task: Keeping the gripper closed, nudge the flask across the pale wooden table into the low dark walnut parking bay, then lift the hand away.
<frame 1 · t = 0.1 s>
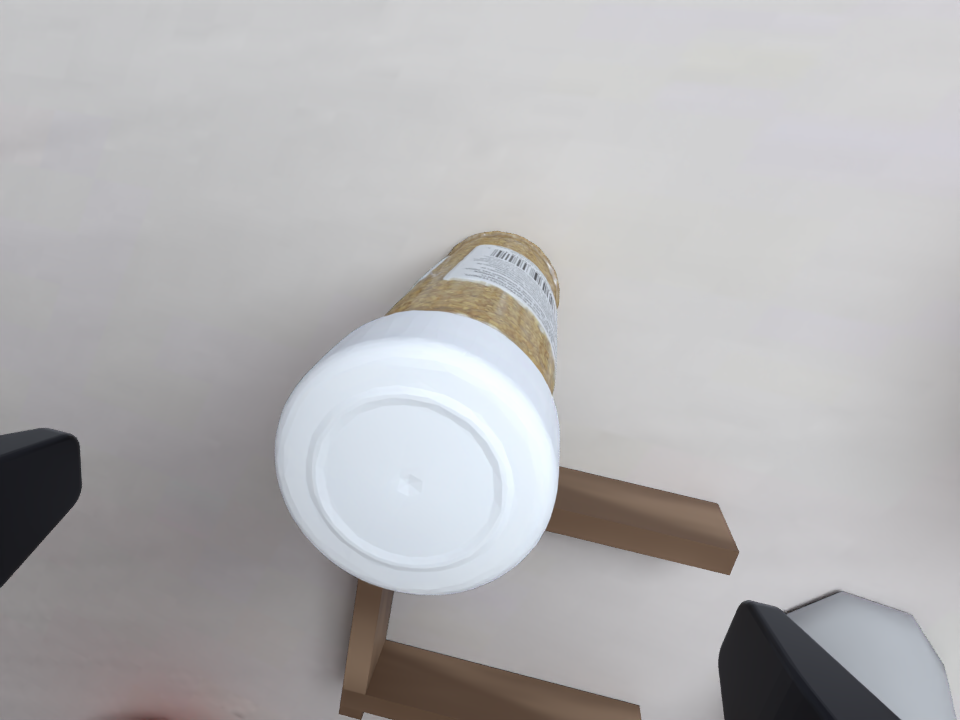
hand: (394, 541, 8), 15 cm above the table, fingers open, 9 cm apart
flask: (835, 657, 25), on the table
sprinkles bottle: (499, 291, 22), on the table
bay: (534, 587, 25), on the table
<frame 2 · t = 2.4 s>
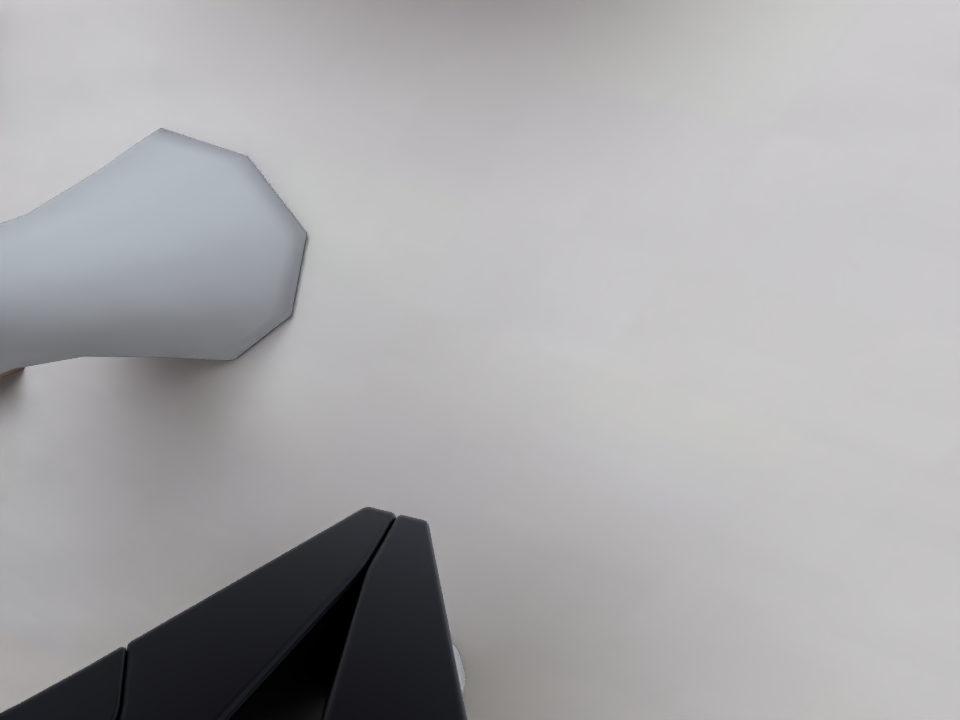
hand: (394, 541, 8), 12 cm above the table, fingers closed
flask: (207, 248, 20), on the table
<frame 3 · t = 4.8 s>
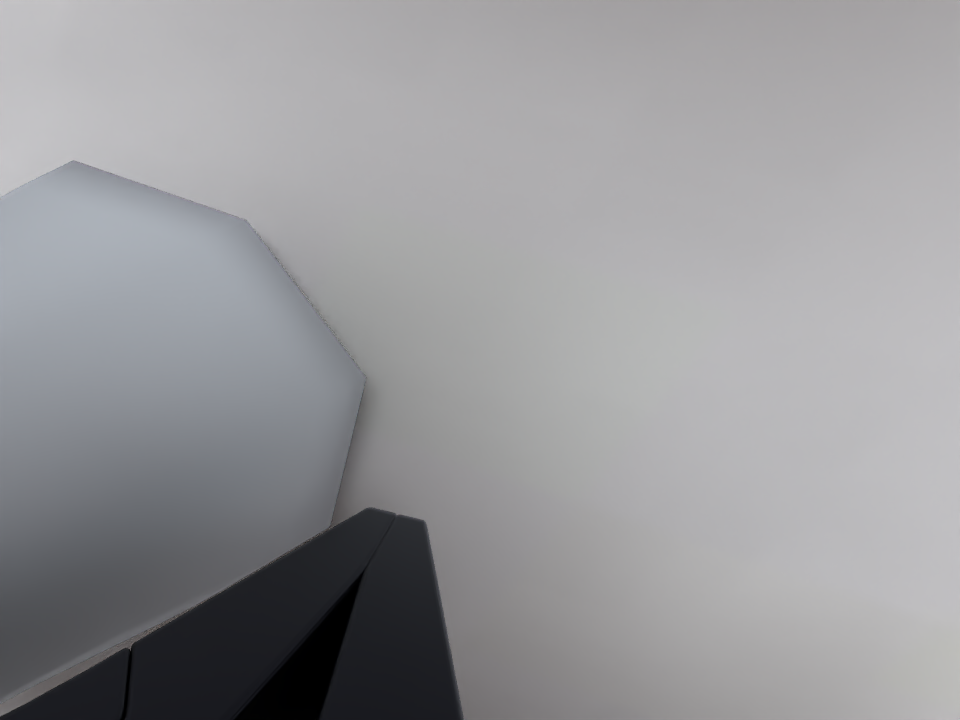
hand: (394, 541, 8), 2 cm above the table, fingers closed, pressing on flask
flask: (174, 389, 10), on the table, touching gripper
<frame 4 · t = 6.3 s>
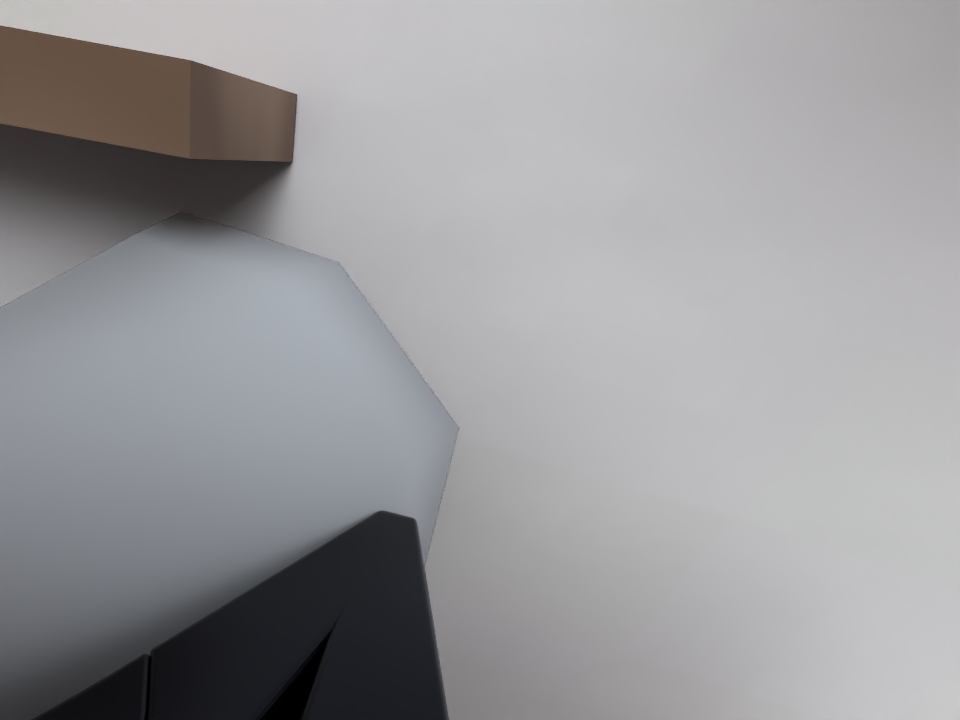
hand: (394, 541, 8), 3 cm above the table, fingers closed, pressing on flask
flask: (267, 436, 10), point 1 cm above the table, touching gripper
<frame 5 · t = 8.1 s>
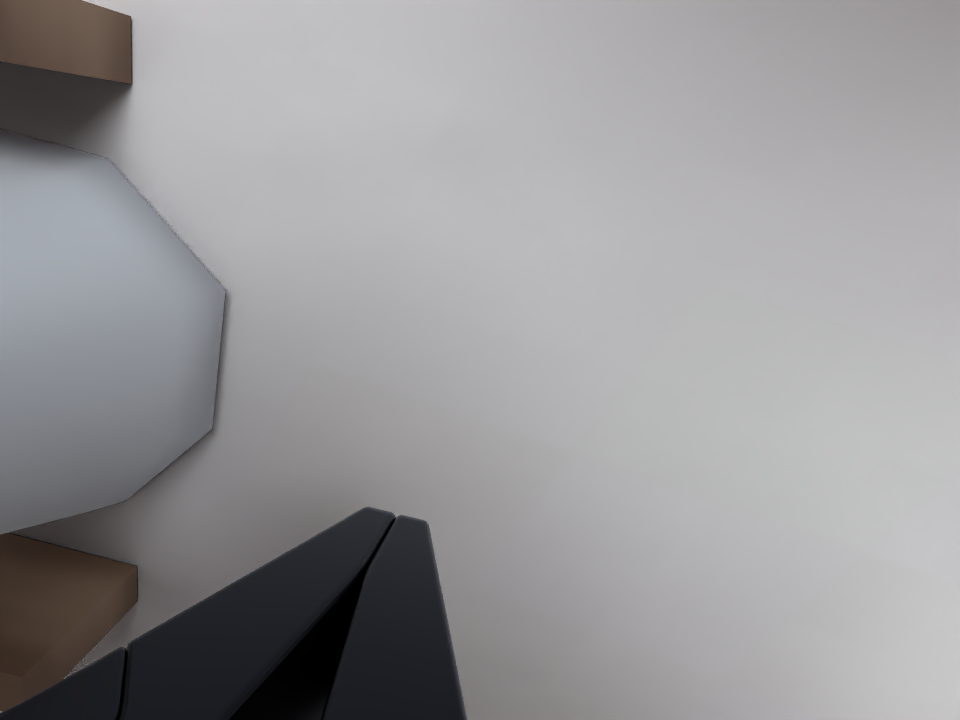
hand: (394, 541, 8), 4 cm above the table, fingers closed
flask: (67, 320, 12), on the table
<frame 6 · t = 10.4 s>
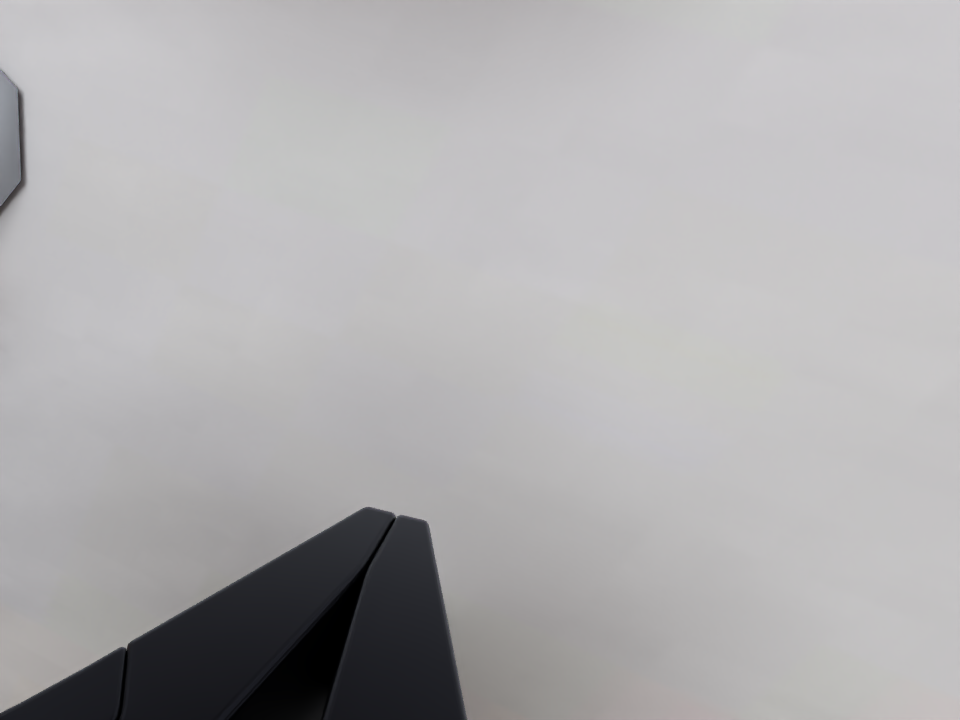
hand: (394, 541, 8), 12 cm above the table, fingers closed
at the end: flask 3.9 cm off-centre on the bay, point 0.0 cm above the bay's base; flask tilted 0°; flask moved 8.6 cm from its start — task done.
